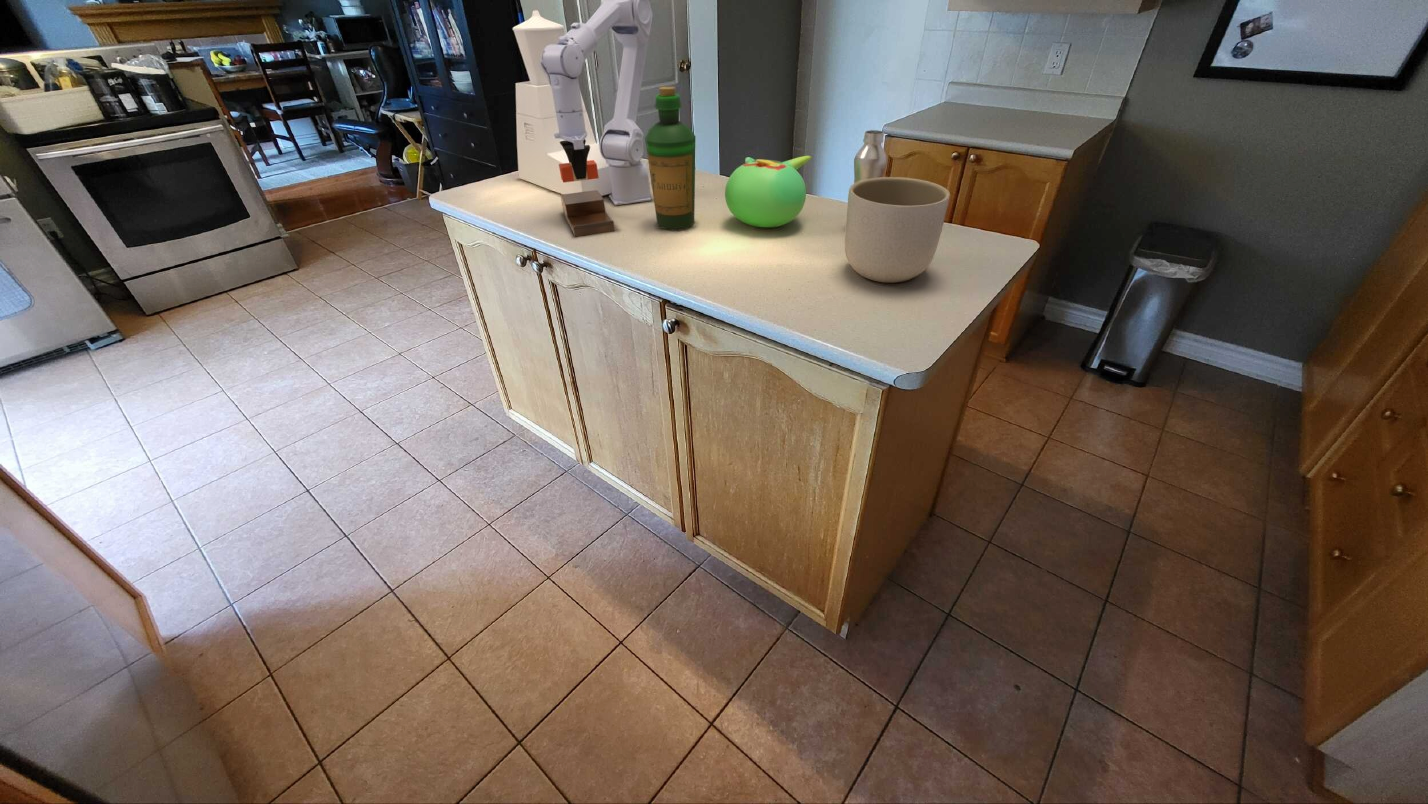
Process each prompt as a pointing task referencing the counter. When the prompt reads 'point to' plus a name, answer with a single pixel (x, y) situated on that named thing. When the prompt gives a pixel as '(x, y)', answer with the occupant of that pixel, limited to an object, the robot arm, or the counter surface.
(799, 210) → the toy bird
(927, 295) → the counter surface
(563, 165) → the candy bar
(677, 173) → the bottle
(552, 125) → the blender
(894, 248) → the planter
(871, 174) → the silver metal bottle
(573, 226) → the step shelf
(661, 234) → the counter surface
